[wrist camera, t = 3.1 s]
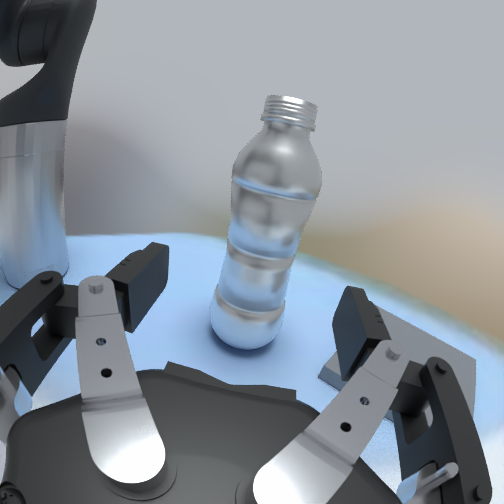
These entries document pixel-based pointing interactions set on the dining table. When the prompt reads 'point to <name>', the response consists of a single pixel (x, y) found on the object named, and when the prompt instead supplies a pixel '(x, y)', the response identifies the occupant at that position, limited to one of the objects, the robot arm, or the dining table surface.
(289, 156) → the plastic bottle
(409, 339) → the slate tile
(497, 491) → the dining table surface
